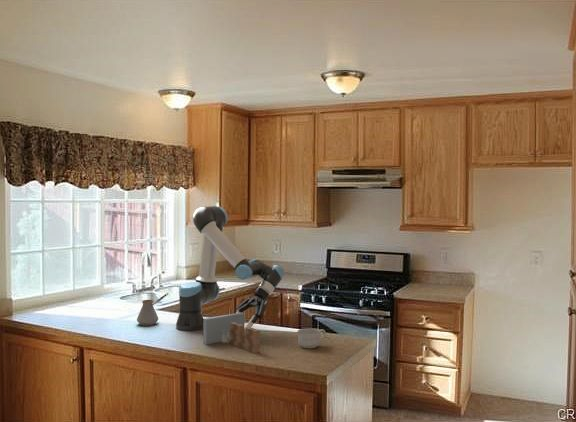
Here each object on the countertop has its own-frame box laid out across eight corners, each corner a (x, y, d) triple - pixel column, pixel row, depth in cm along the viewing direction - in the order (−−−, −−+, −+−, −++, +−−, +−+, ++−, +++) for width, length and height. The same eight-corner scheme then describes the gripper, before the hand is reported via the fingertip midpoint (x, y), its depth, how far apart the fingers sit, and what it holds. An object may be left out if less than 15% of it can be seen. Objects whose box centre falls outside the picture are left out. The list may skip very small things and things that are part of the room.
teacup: (300, 350, 251) (300, 333, 250) (294, 344, 261) (295, 327, 261) (329, 349, 254) (330, 331, 254) (322, 342, 264) (323, 326, 264)
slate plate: (203, 343, 262) (203, 318, 262) (241, 336, 276) (241, 312, 276) (206, 344, 260) (206, 319, 260) (244, 337, 274) (244, 313, 274)
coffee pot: (146, 327, 292) (146, 299, 291) (132, 324, 298) (132, 297, 298) (176, 320, 310) (176, 293, 309) (161, 317, 316) (161, 291, 316)
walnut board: (230, 343, 262) (230, 322, 262) (234, 342, 263) (234, 322, 263) (255, 353, 246) (255, 331, 246) (259, 352, 248) (259, 330, 248)
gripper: (283, 299, 274) (259, 334, 265) (253, 292, 293) (230, 324, 284) (275, 290, 271) (250, 325, 261) (245, 283, 290) (221, 316, 281)
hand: (239, 325), depth 273 cm, fingers open, 13 cm apart
